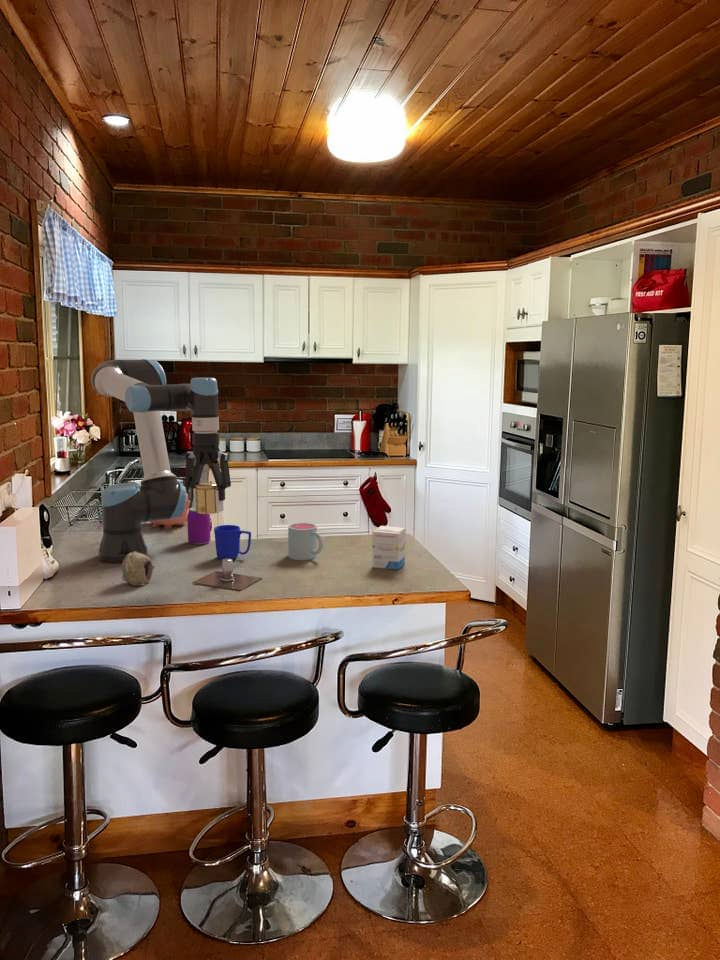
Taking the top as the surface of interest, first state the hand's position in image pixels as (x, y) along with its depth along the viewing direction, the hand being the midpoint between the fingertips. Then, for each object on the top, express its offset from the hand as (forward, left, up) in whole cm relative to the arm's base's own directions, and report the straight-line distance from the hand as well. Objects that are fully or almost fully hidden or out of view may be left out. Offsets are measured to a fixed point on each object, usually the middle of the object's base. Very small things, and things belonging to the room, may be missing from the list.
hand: (208, 510), depth 223 cm
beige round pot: (-16, -13, -20) cm, 29 cm away
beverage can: (-25, +32, -20) cm, 45 cm away
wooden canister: (0, 0, 0) cm, 0 cm away
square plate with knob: (+7, -1, -20) cm, 21 cm away
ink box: (+44, +34, -20) cm, 59 cm away
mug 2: (+17, +31, -20) cm, 40 cm away
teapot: (-49, +47, -20) cm, 71 cm away
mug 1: (-4, +20, -20) cm, 28 cm away
